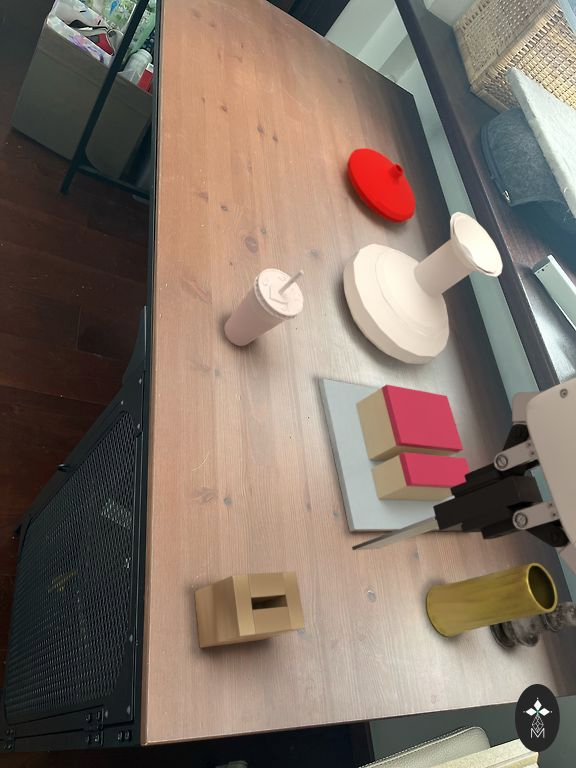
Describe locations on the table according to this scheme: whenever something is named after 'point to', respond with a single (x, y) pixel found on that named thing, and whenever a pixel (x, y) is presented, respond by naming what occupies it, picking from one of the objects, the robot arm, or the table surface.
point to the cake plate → (363, 466)
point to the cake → (407, 423)
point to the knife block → (248, 608)
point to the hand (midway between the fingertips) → (469, 509)
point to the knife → (466, 509)
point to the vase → (491, 599)
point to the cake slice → (419, 477)
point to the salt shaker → (534, 626)
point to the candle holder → (414, 290)
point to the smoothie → (265, 306)
